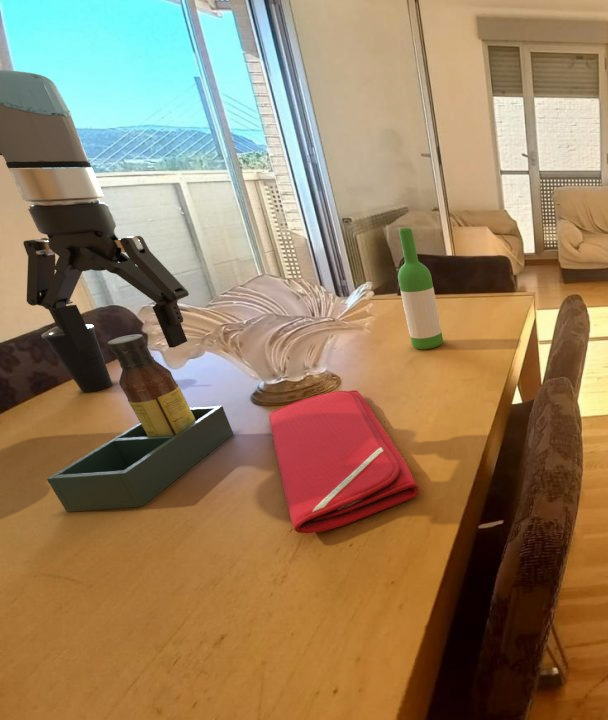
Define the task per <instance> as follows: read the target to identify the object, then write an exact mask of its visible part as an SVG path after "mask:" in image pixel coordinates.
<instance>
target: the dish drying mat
mask: <svg viewBox="0 0 608 720" xmlns="http://www.w3.org/2000/svg"><path fill="white" fill-rule="evenodd" d="M268 419H269V424H270V428H271V434H272V440H273V445H274V446H273V447H274V451H275V455H276V459H277V465H278V469H279V473H280V478H281V481H282V487H283V493H284V496H285V500H286V504H287V509H288V512H289V517H290V521H291V525H292V526H293V530H294V531H295V532H297V533H299V534H314V533H322V532H325V531H329V530H333V529H336V528H340V527H342V526H346V525H348V524H351V523H353V522H356V521H359V520H361V519H363V518H366V517H369V516H371V515H374V514H376V513H380V512H382V511H384V510H387V509H389V508H391V507H395V506H397V505H400V504H402V503H404V502H407V501H410V500H412V499H414V498H415V497H417V496H418V494H419V487H418V485H417V482H416V479H415V477H413V475H412V472H411V470H410V468H409V465H408V464H407V462H406V461H405V459H404V458H403V456H402V454H401V453H400V451H398V449H397V447H396V445H395V444H394V442H393V441H392V439H391V438H390V436H389V435H388V433H387V431H386V430H385V429H384V427H383V425H382V424H381V423H380V422H379V419H378V418H377V416H376V415H375V413H374V411H373V410H372V408H371V406H370V405H369V403H368V402H367V400H366V399H365V398H364V397H363V395H362V394H361V393H360V391H358V390H356V389H353V390H336V391H335V390H334V391H331V392H326V393H322V394H318V395H314V396H310V397H307V398H303V399H300V400H297V401H294V402H292V403H289V404H287V405H284V406H282V407H279V408H277V409H275V410H274V411H271V412H270V413H269V418H268Z"/></svg>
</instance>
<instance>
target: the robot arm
mask: <svg viewBox="0 0 608 720" xmlns="http://www.w3.org/2000/svg"><path fill="white" fill-rule="evenodd" d="M0 156H2V157H3V160H4V161H5V165H6V167H7V169H8V170H9V172H10V174H11V177H12V178H13V181H14V183H15V185H16V188H17V189H18V192H19V194H20V196H21V198H22V200H23V201H25V202H28V203H29V202H30V203H31V204H32V205H30V206H29V207H28V208H27V211H28V213H29V214H30V216H31V218H32V221H33V222H34V225H35V227H36V229H37V231H38V232H39V233H40V234H43V235H46V236H47V237H41V238H34V239H27V240H24V241H23V243H22V244H23V248H24V249H25V252H26V255H27V273H26V274H27V275H26V276H27V277H26V278H27V279H26V303H27V304H28V305H30V306H33V307H34V306H40V307H43V308H44V309H46V310H48V311H49V313H50V315H51V317H52V319H53V322H54V323H55V325H56V327H58V328H59V329H62V330H63V332H64V334H65V336H66V338H67V340H68V342H69V344H70V346H71V348H72V350H73V351H81V350H83V349H86V348H88V347H91V346H94V345H95V343H94V341H93V339H92V337H91V335H90V332H89V330H88V328H87V326H86V321H85V320H84V318H83V316H82V313H81V312H80V309H79V307H78V305H77V304H73V301H71V298H72V297H73V295H74V291H75V289H76V286H77V285H78V282H79V281H80V278H81V275H82V273H83V272H88V271H97V272H101V271H107V272H108V273H111V274H113V275H114V274H115V275H116V276H118V277H120V278H121V279H122V280H124V281H125V282H126V283H128V284H129V285H131V286H132V287H134V288H135V289H136V290H138V291H139V292H140V293H142V294H143V295H145V296H146V297H147V298H149V299H150V300H152V301H153V302H154V303H155V304H154V305H153V306H152V309H153V312H154V315H155V317H156V320H157V321H158V324H159V327H160V329H161V331H162V334H163V336H164V339H165V341H166V344H167V346H168V348H169V349H171V348H176V347H179V346H180V345H182V344H185V343H187V342H188V338H187V336H186V333H185V330H184V327H183V326H182V324H183V322H184V317H183V315H182V313H181V309H180V307H179V304H178V301H179V300H181V299H184V298H187V297H188V296H189V295H190V294H189V290H187V289H186V288H185V286H183V285H182V283H181V282H180V281H179V280H178V279H177V278H176V277H175V276H174V275H173V274H172V273H171V272H170V270H169V269H168V268H167V267H166V266H165V265H164V264H163V263H162V262H161V261H160V260H159V259H158V258H157V257H156V256H155V254H154V253H152V251H150V248H149V247H148V244H147V243H146V241H145V239H144V238H143V236H141V235H133V236H126V237H122V238H119V237H118V235H117V234H116V233H115V229H116V227H117V224H116V222H115V219H114V216H113V214H112V211H111V210H110V209H111V208H110V207H109V204H107V203H106V202H104V201H103V202H102V201H100V199H102V198H103V197H104V194H103V191H102V189H101V186H100V183H99V182H98V179H97V177H96V174H95V172H94V170H93V167H92V164H91V162H90V160H89V157H88V155H87V153H86V150H85V147H84V144H83V143H82V141H81V138H80V136H79V132H78V131H77V128H76V125H75V122H74V120H73V117H72V111H71V110H70V109H69V108H68V106H67V104H66V102H65V100H64V97H63V96H62V94H61V92H60V90H59V88H58V86H57V85H56V83H54V81H53V80H51V79H50V78H49V77H47V76H45V75H43V74H38V73H33V72H25V71H20V70H10V69H9V70H8V69H0ZM56 256H58V257H57V260H56Z"/></svg>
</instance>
